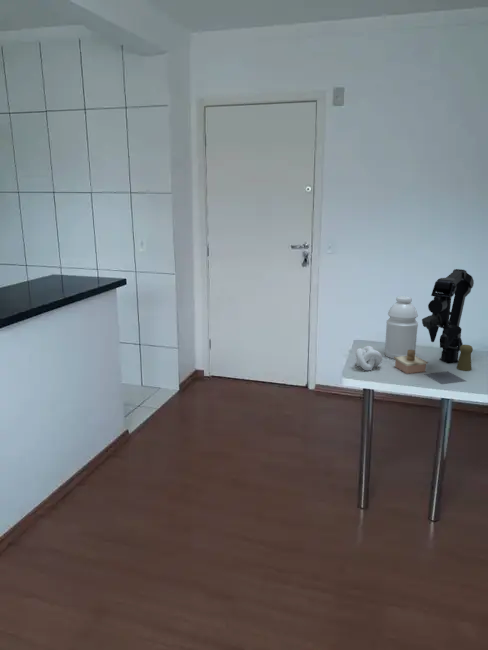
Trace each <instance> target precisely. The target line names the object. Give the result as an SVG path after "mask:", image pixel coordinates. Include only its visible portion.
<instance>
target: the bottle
mask: <svg viewBox="0 0 488 650" xmlns="http://www.w3.org/2000/svg"><path fill="white" fill-rule="evenodd" d="M395 300H396V302H395V303H393V305H392V306H390V308H389V310H388V311H387V312H388V313H387V315H388V317H389V318H388V319H387V320H386V328H385V329H386V330H385V344H384V345H385V346H384V355H385V356H386V357H388V358H389V359H393V360H395V359H394V357H401V356H407V351H408V350H415V351H416V349H417V339H418V338H417V336H418V335H417V334H418V327H419V322H418V321H417V320H416V319H417V318H418V316H419V315H418V312H417V310H416V307H415V306H414V304H413V303H412V297H411V296H406V295H405V296H404V295H401V296H399V295H398V296H397V297H396V299H395Z"/></svg>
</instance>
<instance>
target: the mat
mask: <svg viewBox="0 0 488 650" xmlns="http://www.w3.org/2000/svg"><path fill="white" fill-rule="evenodd" d="M423 375H424V376H426V377H428V378H429V379H432V380H433V381H435V382H437V383H439V384H440V385H446V384H448V385H449V384H454V383H463V382H467V380H465V379H464V378H462V377H459V376H458V375H456V374H454V373H452V372H450V371H441V372H431V373H423Z"/></svg>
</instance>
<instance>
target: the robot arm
mask: <svg viewBox="0 0 488 650" xmlns="http://www.w3.org/2000/svg"><path fill="white" fill-rule="evenodd" d="M474 281H475V280H474V278H473V276H472V275H471V274H469V273H468V272H467V270H465V269H461V268H456V269H455V268H454V269H453V271H452V272H451V273H450V274H448V275H447V276H446V277H440V278H438V279H437V280H436V281H435V283H434V286H433V288H432V291H431V295H430V296H431V297H433V299H432V300H430V301H429V303H428V304H427V307H428V308H427V309H428V310H429V312H430V313H432V314H431V315H428V316H426V317H424V318H422V319H421V323H422V326H423V328H424V327H425V328H426V329H427V330H428V334H429V337H430V341H431V343H434V342H435V341H436V337H437V333H438V331H439V328H440V329H442V333H441V335H440V337H439V348H441V349H442V351H441V357H440V358H439V361H442V362H444V363H445V364H458V361H459V353H460V346H461V345H464V344H463V340H462V335H461V334H462V328H461V326H460V325H461V321H462V319H461V318H462V315H463V314H462V313H463V310H464V305H465V301H466V298H467V296H468V295H469V294H470V293H471V291H472V288H473V287H474V284H475V283H474ZM452 298H453V301H452Z"/></svg>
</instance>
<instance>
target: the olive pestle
mask: <svg viewBox="0 0 488 650" xmlns="http://www.w3.org/2000/svg"><path fill="white" fill-rule="evenodd" d="M473 351H474V349H473V346H471V345H469V344H463V345H461V346H460V351H459V353H460V354H459V356H458V363H457V364H456V365H457V366H456V369H457V370H458V371H463V372H470V371H472V353H473Z"/></svg>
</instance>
